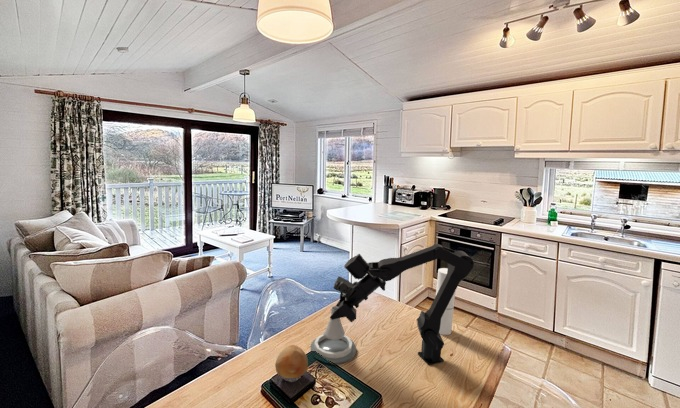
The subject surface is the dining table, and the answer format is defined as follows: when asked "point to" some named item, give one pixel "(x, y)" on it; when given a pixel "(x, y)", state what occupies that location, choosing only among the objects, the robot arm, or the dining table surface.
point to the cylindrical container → (448, 314)
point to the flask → (334, 328)
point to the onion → (291, 362)
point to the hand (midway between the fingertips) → (331, 316)
